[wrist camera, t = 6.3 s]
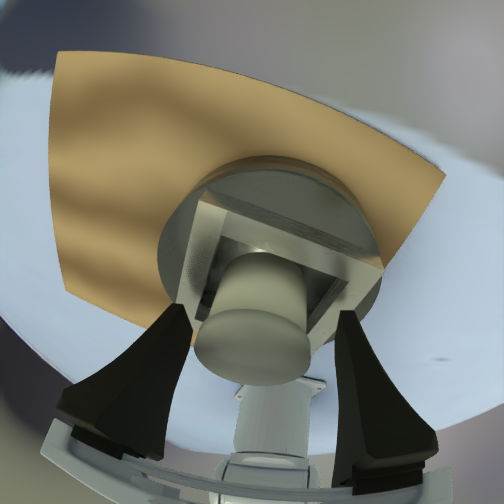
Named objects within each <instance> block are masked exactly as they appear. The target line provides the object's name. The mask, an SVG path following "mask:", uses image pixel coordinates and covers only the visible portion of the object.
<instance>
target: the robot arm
mask: <svg viewBox="0 0 504 504" xmlns="http://www.w3.org/2000/svg"><path fill="white" fill-rule="evenodd" d="M192 336H193V328H192V326H191V323H190V321H189V318H188V315H187V313H186V310H185V307H184V305H183V304H178V303H171V305H170V306H169V307H168V308H167V309H166V310H165V311H164V312H163V313H162V314H161V315H160V316H159V317H158V318H157V319H156V321H155V322H154V323H153V324H152V325H151V326H150V327H149V328H148V329H147V330H146V331H145V332H144V333H143V334H142V335H141V336H140V337H139V338H138V339H137V340H136V341H135V342H134V343H133V344H132V345H131V346H130V347H129V348H128V349H127V350H126V351H124V352H123V353H122V354H121V355H120V356H118V357H117V358H116V359H115V360H113V361H112V362H111V363H109V364H108V365H106V366H105V367H104V368H102V369H101V370H99V371H98V372H96V373H94V374H93V375H91V376H89V377H88V378H86V379H84V380H82V381H80V382H78V383H76V384H74V385H72V386H70V387H68V388H65V389H64V390H63V392H62V394H61V396H60V398H59V400H58V402H57V404H56V406H55V409H56V411H57V412H59V413H60V414H61V415H62V416H64V417H65V418H66V419H68V420H69V421H70V422H72V423H73V424H75V425H74V428H71V427H70V426H68V425H67V424H64V423H63V422H61V421H59V420H58V419H56V418H55V419H54V420H53V423H52V425H51V427H50V429H49V432H48V434H47V436H46V439H45V441H44V444H43V446H42V448H41V451H40V453H41V454H42V455H43V456H45V457H46V458H48V459H49V460H50V461H52V462H53V463H54V464H56V465H57V466H59V467H60V468H62V469H63V470H64V471H66V472H67V473H69V474H70V475H71V476H73V477H74V478H76V479H78V480H79V481H80V482H82V483H83V484H85V485H86V486H88V487H89V488H91V489H93V490H94V491H96V492H98V493H99V494H101V495H103V496H104V497H106V498H108V499H110V500H112V501H113V502H115V503H117V504H202V503H198V502H193V501H189V500H186V499H181V498H179V495H180V489H177V488H173V487H170V486H167V485H164V484H161V483H158V482H155V481H152V480H150V479H149V478H148V476H147V474H148V475H151V476H154V477H157V478H160V479H163V480H166V481H169V482H173V483H176V484H180V485H184V486H187V487H191V488H196V489H200V490H204V491H209V499H210V504H317V503H318V502H322V503H320V504H452V469H451V466H448V467H445V468H441V469H438V470H434V471H430V472H427V473H424V474H423V473H422V469H423V468H425V460H427V459H429V458H430V457H432V456H434V455H435V454H437V452H438V451H439V448H438V441H437V437H436V433H435V431H434V430H433V429H432V428H431V427H430V426H429V425H428V424H427V423H426V422H425V421H424V420H423V419H422V418H421V417H420V416H419V415H418V414H417V413H416V411H415V410H414V409H413V408H412V407H411V406H410V405H409V403H408V402H407V401H406V400H405V398H404V397H403V396H402V395H401V394H400V392H399V391H398V389H397V388H396V387H395V385H394V384H393V382H392V381H391V380H390V378H389V377H388V375H387V373H386V372H385V370H384V369H383V367H382V365H381V364H380V362H379V360H378V358H377V357H376V355H375V353H374V351H373V349H372V347H371V345H370V343H369V342H368V340H367V337H366V335H365V333H364V331H363V329H362V327H361V324H360V322H359V320H358V317H357V315H356V312H355V311H354V310H340V314H339V319H338V324H337V329H336V334H335V367H336V377H337V388H338V400H339V415H338V433H337V445H336V456H335V464H334V471H333V478H332V487H331V488H320V472H319V470H318V469H317V468H316V467H315V465H309V466H308V464H309V459H308V458H307V451H308V438H309V424H310V407H311V398H312V397H314V396H315V395H316V394H318V393H319V392H320V391H322V390H323V389H324V388H326V383H325V382H321V381H316V380H311V379H307V378H303V377H300V378H298V379H296V380H294V381H292V382H289V383H286V384H282V385H276V386H251V385H245V384H244V385H243V386H242V387H241V389H240V390H239V391H238V392H237V393H236V395H235V396H234V399H235V400H237V401H241V404H240V409H239V414H238V419H237V424H236V429H235V434H234V441H233V443H234V448H235V450H236V452H235V453H231V456H230V458H225V459H224V460H223V461H221V462H219V463H218V464H217V466H216V468H215V470H214V473H213V476H212V479H210V478H205V477H201V476H196V475H192V474H188V473H184V472H180V471H176V470H173V469H169V468H166V467H162V466H159V465H156V464H153V463H150V462H147V461H144V460H141V459H139V457H141V458H144V459H145V458H149V459H152V460H155V461H160V460H162V459H163V457H164V445H165V436H166V429H167V423H168V417H169V412H170V407H171V403H172V399H173V394H174V391H175V388H176V385H177V382H178V379H179V376H180V374H181V371H182V368H183V366H184V363H185V360H186V357H187V355H188V352H189V349H190V345H191V340H192Z"/></svg>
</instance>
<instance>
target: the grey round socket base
mask: <svg viewBox="0 0 504 504" xmlns="http://www.w3.org/2000/svg"><path fill="white" fill-rule="evenodd" d="M252 252H269V253H272V254H275V255H277V256H280V257H283V258H286V259H288V260H291V261H292V262H293V263H295V264H296V265H297V266H298V267H299V268H300V270H301V271H302V272H303V274H304V276H305V279H306V283H307V319H306V334H307V336H308V338H309V340H310V344H311V356H312V355H313V354H314V353H315V352H316V351H317V350H318V349H319V348H320V347H321V346H322V345H324V344H326V343H329V342H331V341H333V340H335V334H336V329H337V324H338V319H339V314H340V310H354V311H355V312H356V315H357V317H358V320H359V322H360V321H361V320H362V319H363V318H364V317H365V316H366V314H367V313H368V312H369V311H370V309H371V307H372V306H373V304H374V302H375V300H376V298H377V295H378V293H379V290H380V285H381V280H382V274H383V273H384V272H385V270H384V267H383V264H382V261H381V255H380V251H379V248H378V245H377V242H376V239H375V237H374V234H373V232H372V229H371V226H370V224H369V221H368V219H367V217H366V214H365V212H364V210H363V208H362V206H361V204H360V203H359V201H358V199H357V198H356V197H355V195H354V194H353V193H352V192H351V190H350V189H349V188H348V187H347V186H346V185H345V184H344V183H342V182H341V181H340V180H339V179H338V178H336V177H335V176H334V175H332V174H331V173H329V172H328V171H326V170H324V169H322V168H320V167H318V166H316V165H314V164H312V163H309V162H306V161H303V160H300V159H296V158H291V157H286V156H274V155H263V156H251V157H247V158H242V159H238V160H235V161H232V162H230V163H227V164H224V165H222V166H220V167H219V168H217V169H215V170H213V171H211V172H210V173H209V174H208V175H206V176H205V177H204V178H202V179H201V180H200V181H199V182H198V183H197V184H196V185H195V186H194V187H193V188H192V190H191V191H190V192H189V193H188V195H187V196H186V197H185V198H184V199H183V201H182V202H181V203H180V204H179V206H178V207H177V208H176V209H175V211H174V212H173V213H172V215H171V216H170V218H169V219H168V221H167V222H166V224H165V226H164V228H163V230H162V233H161V235H160V239H159V243H158V249H157V264H158V271H159V275H160V278H161V281H162V284H163V286H164V288H165V291H166V292H167V294H168V296H169V298H170V299H171V301H172V302H173V303H178V304H183V305H184V307H185V310H186V313H187V315H188V318H189V321H190V323H191V326H192V328H193V331H194V332H197V333H198V331H199V328H200V326H201V324H202V323H203V322H204V321H205V320H206V319H207V318H208V316H209V313H210V310H211V307H212V304H213V301H214V298H215V296H216V293H217V290H218V287H219V284H220V281H221V278H222V275H223V272H224V270H225V268H226V267H227V265H228V264H229V263H230V262H231V261H232V260H234V259H235V258H237V257H239V256H241V255H244V254H247V253H252Z"/></svg>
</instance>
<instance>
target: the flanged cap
mask: <svg viewBox="0 0 504 504" xmlns="http://www.w3.org/2000/svg"><path fill="white" fill-rule="evenodd" d="M306 319H307V283H306V279H305V276H304V274H303V272H302V271H301V270H300V268H299V267H298V266H297V265H296V264H295V263H293V262H292V261H291V260H288V259H286V258H283V257H280V256H277V255H275V254H272V253H269V252H252V253H247V254H244V255H241V256H239V257H237V258H235V259H234V260H232V261H231V262H230V263H229V264H228V265H227V267H226V268H225V270H224V272H223V275H222V278H221V281H220V284H219V287H218V290H217V293H216V296H215V298H214V301H213V304H212V307H211V310H210V313H209V316H208V318H207V319H206V320H205V321H204V322H203V323H202V324H201V326H200V328H199V331H198V334H197V337H196V340H195V343H194V351H195V354H196V356H197V358H198V360H199V361H200V362H201V363H202V364H203V365H204V366H205V367H206V368H207V369H208V370H210V371H211V372H213V373H214V374H216V375H218V376H220V377H222V378H224V379H227V380H230V381H233V382H236V383H240V384H245V385H251V386H276V385H282V384H286V383H289V382H292V381H294V380H296V379H298V378H300V377H301V376H302V375H304V374H305V373H306V372H307V370H308V368H309V366H310V360H311V344H310V340H309V338H308V336H307V334H306Z"/></svg>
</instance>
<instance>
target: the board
mask: <svg viewBox="0 0 504 504" xmlns="http://www.w3.org/2000/svg"><path fill="white" fill-rule="evenodd" d="M263 155H274V156H286V157H291V158H296V159H300V160H303V161H306V162H309V163H312V164H314V165H316V166H318V167H320V168H322V169H324V170H326V171H328V172H329V173H331V174H332V175H334V176H335V177H336V178H338V179H339V180H340V181H341V182H342V183H344V184H345V185H346V186H347V187H348V188H349V189H350V190H351V192H352V193H353V194H354V195H355V197H356V198H357V199H358V201H359V203H360V204H361V206H362V208H363V210H364V212H365V214H366V217H367V219H368V221H369V224H370V226H371V229H372V232H373V234H374V237H375V239H376V242H377V245H378V248H379V251H380V255H381V261H382V264H383V267H384V268H385V267H386V266H387V264H388V263H389V262H390V260H391V259H392V258H393V256H394V255H395V254H396V252H397V251H398V249H399V248H400V247H401V245H402V244H403V242H404V241H405V240H406V238H407V237H408V235H409V234H410V232H411V231H412V229H413V228H414V226H415V225H416V223H417V222H418V220H419V219H420V217H421V216H422V214H423V213H424V211H425V209H426V208H427V206H428V205H429V203H430V201H431V200H432V198H433V197H434V195H435V193H436V192H437V190H438V188H439V187H440V185H441V183H442V181H443V180H444V178H445V176H446V174H445V173H444V172H442V171H441V170H440V169H439V168H437V167H436V166H434V165H433V164H432V163H430V162H429V161H427V160H426V159H424V158H423V157H421V156H419V155H418V154H416V153H415V152H413V151H412V150H410V149H408V148H407V147H405V146H404V145H402V144H400V143H399V142H397V141H395V140H393V139H392V138H390V137H388V136H386V135H385V134H383V133H381V132H379V131H377V130H376V129H374V128H372V127H370V126H368V125H366V124H364V123H362V122H360V121H358V120H356V119H354V118H352V117H350V116H348V115H346V114H344V113H342V112H340V111H338V110H336V109H333V108H331V107H329V106H327V105H324V104H322V103H320V102H317V101H315V100H313V99H310V98H308V97H305V96H303V95H300V94H298V93H295V92H292V91H290V90H287V89H284V88H282V87H279V86H276V85H273V84H270V83H267V82H264V81H261V80H258V79H255V78H251V77H248V76H245V75H241V74H238V73H234V72H230V71H227V70H223V69H219V68H215V67H211V66H206V65H202V64H197V63H193V62H187V61H182V60H177V59H171V58H165V57H159V56H151V55H144V54H135V53H124V52H110V51H60V52H58V55H57V60H56V66H55V72H54V79H53V86H52V95H51V105H50V117H49V142H48V162H49V186H50V200H51V210H52V219H53V227H54V234H55V241H56V247H57V253H58V258H59V263H60V268H61V273H62V277H63V282H64V286H65V290H66V291H68V292H69V293H71V294H73V295H75V296H77V297H79V298H81V299H83V300H85V301H87V302H89V303H91V304H93V305H95V306H97V307H99V308H101V309H103V310H105V311H107V312H109V313H112V314H114V315H116V316H118V317H120V318H123V319H125V320H127V321H129V322H132V323H134V324H136V325H139V326H141V327H143V328H146V329H148V328H149V327H150V326H151V325H152V324H153V323H154V322H155V321H156V319H157V318H158V317H159V316H160V315H161V314H162V313H163V312H164V311H165V310H166V309H167V308H168V307H169V306H170V305H171V303H173V302H172V301H171V299H170V298H169V296H168V294H167V292H166V291H165V288H164V286H163V284H162V281H161V278H160V275H159V271H158V264H157V249H158V243H159V239H160V235H161V233H162V230H163V228H164V226H165V224H166V222H167V221H168V219H169V218H170V216H171V215H172V213H173V212H174V211H175V209H176V208H177V207H178V206H179V204H180V203H181V202H182V201H183V199H184V198H185V197H186V196H187V195H188V193H189V192H190V191H191V190H192V188H193V187H194V186H195V185H196V184H197V183H198V182H199V181H200V180H201V179H202V178H204V177H205V176H206V175H208V174H209V173H210V172H211V171H213V170H215V169H217V168H219V167H220V166H222V165H224V164H227V163H230V162H232V161H235V160H238V159H242V158H247V157H251V156H263ZM197 334H198V333H197V332H194V331H193V336H192V340H191V345H190V346H192V347H194V343H195V340H196V337H197Z"/></svg>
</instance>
